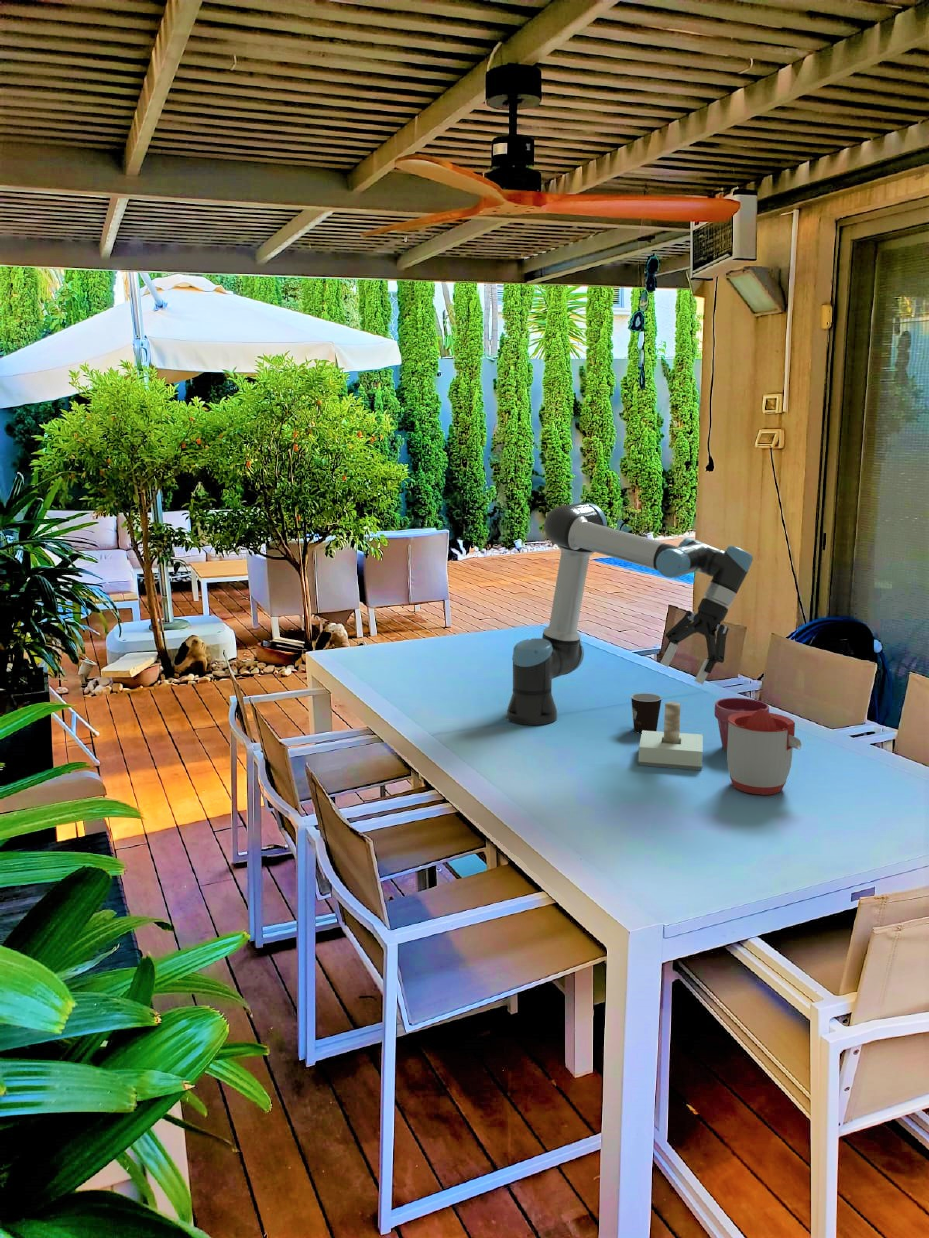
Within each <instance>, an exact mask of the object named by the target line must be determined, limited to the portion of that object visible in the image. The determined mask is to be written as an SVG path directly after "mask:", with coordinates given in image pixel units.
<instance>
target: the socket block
mask: <svg viewBox="0 0 929 1238" xmlns="http://www.w3.org/2000/svg"><path fill="white" fill-rule="evenodd" d="M640 734H641V733H640ZM703 741H704V739H703V734H701V733H700V734H699V733H697V734H696V733H686V732H685V733H684V732H679V744H668V743H664V731H659V730H657V731H644V730H642V734H641V735H640V740H639V746H638V764H637V765H638V766H644V767H654V768H655V767H656V768H666V767H667V768H669V769H678V770H679V769H682V770H695V771H702V770H703V769H702V768H703V753H704V751H703V748H704V747H703V745H704V744H703V743H704V742H703Z"/></svg>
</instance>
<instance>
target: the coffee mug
mask: <svg viewBox="0 0 929 1238" xmlns="http://www.w3.org/2000/svg"><path fill="white" fill-rule="evenodd" d="M630 700H631V701H630V702H631V709H632V710H631V711H632V712H631V713H632V721H633V722H632V723H633V731H634V732H635V733H637V732H639V733H638V734H641V733H642V730H644V731H658V724H659V723H658V722H659V716H660V710H661V705H662V700H663V699H662V696H660V695H658V694H655V693H650V692H649V693H648V692H644V693H643V692H642V693H641V692H640V693H634V694H632V695H631V697H630Z"/></svg>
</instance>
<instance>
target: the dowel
mask: <svg viewBox="0 0 929 1238" xmlns="http://www.w3.org/2000/svg"><path fill="white" fill-rule="evenodd" d="M681 708H682V707H681V703H679V702H674V701H668V702H665V703H664V723H663V732H664V743H668V744H679V733H681V732H680V731H681V730H680V727H681V710H682V709H681Z"/></svg>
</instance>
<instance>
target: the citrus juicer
mask: <svg viewBox="0 0 929 1238" xmlns="http://www.w3.org/2000/svg"><path fill="white" fill-rule="evenodd" d="M728 722H729V725H728V744H727V751H726V760H727V763H726V764H727V769H728V773H729V778H730V781H731V783H732V785H733V787H734V788H735V789H736V790H739V791H741V792H744V793H748V794H754V795H764V796H771V795H774V794H778V793H780V792H782V790H783V788H784V786H785V785H786V782H787V779H788V777H789V775H790V769H791V767H792V759H793V749H797V750H801V749H802V742H801V739H799V738H798V737H796V736H795V733H796V732H795V731H796V730H795V729H796V728H795V727H796V722H795V721H794V720H793V719H791V718H790V717H787V716H784V715H781V714H779V713H778V714H777V713H773V712H769V713H768V712H766V711H765V710H764V709H759V710H758V711H756V712H755V711H749V712H739V713H734V714H732V715H730V716H729V717H728Z"/></svg>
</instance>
